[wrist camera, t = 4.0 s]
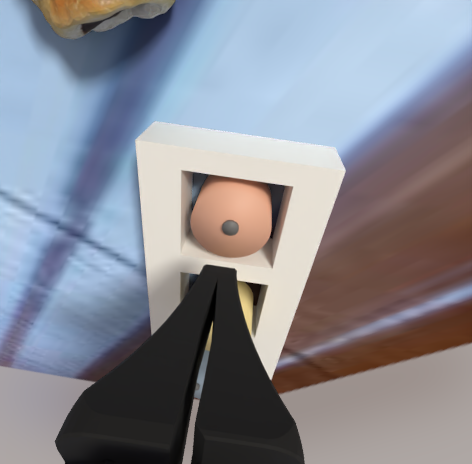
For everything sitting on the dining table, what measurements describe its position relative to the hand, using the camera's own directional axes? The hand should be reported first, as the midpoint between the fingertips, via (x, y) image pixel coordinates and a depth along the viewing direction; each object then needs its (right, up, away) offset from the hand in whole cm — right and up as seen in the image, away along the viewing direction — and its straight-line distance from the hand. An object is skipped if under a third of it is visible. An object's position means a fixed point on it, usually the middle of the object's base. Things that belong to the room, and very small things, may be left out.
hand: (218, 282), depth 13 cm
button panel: (0, -1, +10) cm, 10 cm away
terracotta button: (+1, +4, +6) cm, 7 cm away
